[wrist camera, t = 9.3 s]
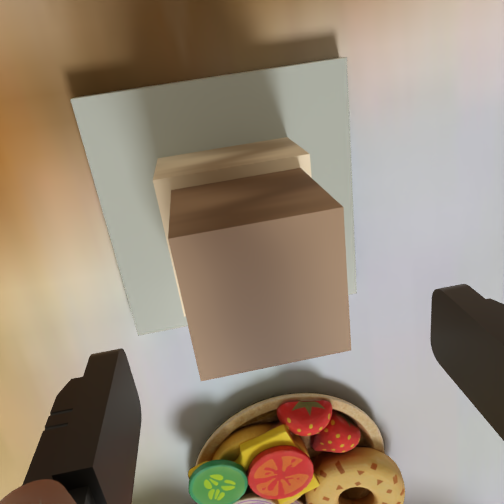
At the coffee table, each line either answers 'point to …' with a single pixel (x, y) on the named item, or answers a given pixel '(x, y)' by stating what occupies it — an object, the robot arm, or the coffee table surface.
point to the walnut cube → (260, 271)
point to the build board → (200, 139)
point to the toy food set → (296, 456)
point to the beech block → (223, 170)
